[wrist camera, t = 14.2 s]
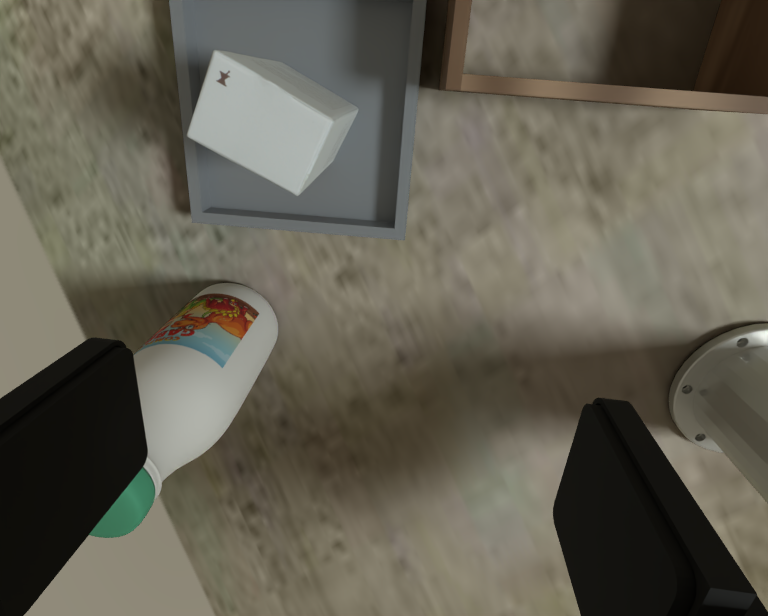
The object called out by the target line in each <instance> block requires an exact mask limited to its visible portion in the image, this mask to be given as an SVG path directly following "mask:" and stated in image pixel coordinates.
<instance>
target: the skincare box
mask: <svg viewBox="0 0 768 616" xmlns="http://www.w3.org/2000/svg"><path fill="white" fill-rule="evenodd" d="M357 112H358V108H357V107H356V106H354V105H353V104H351V103H349V102H348V101H346V100H344V99H343V98H341V97H339V96H338V95H336V94H334V93H333V92H331V91H329V90H328V89H326V88H324V87H323V86H321V85H319V84H318V83H316V82H314V81H313V80H311V79H309V78H307V77H306V76H304V75H302V74H301V73H299V72H297V71H296V70H294V69H292V68H291V67H289V66H287V65H286V64H284V63H282V62H278V61H273V60H268V59H262V58H257V57H251V56H247V55H242V54H236V53H232V52H227V51H220V50H214V51H213V53H212V56H211V59H210V63H209V66H208V69H207V72H206V76H205V79H204V82H203V85H202V88H201V92H200V95H199V98H198V101H197V104H196V107H195V110H194V114H193V117H192V120H191V123H190V126H189V129H188V132H187V136H188V138H190V139H192V140H194V141H196V142H197V143H199V144H201V145H203V146H205V147H207V148H208V149H210V150H212V151H214V152H216V153H217V154H219V155H221V156H223V157H225V158H227V159H228V160H230V161H232V162H234V163H236V164H238V165H240V166H242V167H244V168H246V169H248V170H250V171H252V172H253V173H255V174H257V175H259V176H261V177H263V178H265V179H267V180H268V181H270V182H272V183H274V184H276V185H278V186H280V187H282V188H283V189H285V190H287V191H289V192H291V193H292V194H294V195H296V196H298V195H300V194H301V193H302V192H303V191H304V190H305V189H306V188H307V187H308V186H309V185H310V184H311V183H312V182H313V181H314V180H315V179H316V178H317V177H318V176H319V175H320V174H321V173H322V172H323V171H324V170H325V169H326V168H327V167H328V166H329V165H330V164H331V163H332V162H333V160H334V158H335V156H336V154H337V152H338V150H339V148H340V146H341V144H342V142H343V140H344V139H345V137H346V135H347V133H348V131H349V129H350V127H351V125H352V123H353V121H354V119H355V117H356V115H357Z"/></svg>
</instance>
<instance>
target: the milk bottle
mask: <svg viewBox="0 0 768 616" xmlns="http://www.w3.org/2000/svg"><path fill="white" fill-rule="evenodd" d="M277 337H278V323H277V319H276V316H275V313H274V311H273V309H272V307H271V306H270V304H269V303H268V302H267V300H266V299H265V298H263V297H262V296H261V295H260V294H259V293H257V292H256V291H254V290H253V289H251V288H248V287H246V286H244V285H239V284H235V283H219V284H215V285H211V286H209V287H207V288H205V289H204V290H202V291H201V292H200V293H198V294H197V295H196V296H195V297H194V298H193V299H192V300H190V301H189V302H188V303H187V304H186V305H185V306H184V307H183V308H182V309H181V310H180V311H179V312H178V313H177V314H175V315H174V316H173V317H172V318H171V319H170V320H169V321H168V322H167V323H166V324H165V325H164V326H163V327H162V328H161V329H160V330H158V331H157V332H156V333H155V334H154V335H153V336H152V337H151V338H150V339H149V340H148V341H147V342H146V343H145V344H144V345H143V346H142V347H141V348H140V349H139V350H138V351H137V352H136V353H135V354H134V355H133V357H134V363H135V370H136V376H137V383H138V389H139V396H140V402H141V409H142V415H143V422H144V428H145V434H146V441H147V447H148V455H147V459H146V462H145V464H144V466H143V468H142V469H141V470H140V472H139V473H138V474H137V475H136V477H135V478H134V479H133V480H132V482H131V483H130V484H129V485H128V487H127V488H126V489H125V490H124V492H123V493H122V494H121V495H120V497H119V498H118V499H117V500H116V502H115V503H114V504H113V505H112V506H111V508H110V509H109V510H108V511H107V513H106V514H105V515H104V516H103V518H102V519H101V520H100V521H99V523H98V524H97V525H96V526H95V528H94V529H93V530H92V531H91V533H90V534H89V535H91V536H96V537H104V538H110V537H111V538H113V537H120V536H123V535H126V534H128V533H130V532H131V531H133V530H134V529H135V528H136V527H137V526H138V525H139V524H140V523H141V522H142V520H143V519H144V518H145V516H146V515H147V513H148V511H149V510H150V508H151V506H152V504H153V502H154V500H155V499H156V498H157V497H158V495H159V494H160V491H161V487H162V481H163V480H164V479H166V478H167V477H168V476H169V475H170V474H171V473H173V472H174V471H175V470H177V469H178V468H180V467H181V466H183V465H185V464H187V463H189V462H190V461H192V460H194V459H196V458H197V457H199V456H200V455H202V454H203V453H204V452H206V451H207V450H208V449H209V448H211V447H212V446H213V445H214V444H215V443H216V442H217V441H218V440H219V438H220V437H221V436H222V435H223V434H224V432H225V431H226V430H227V428H228V427H229V425H230V424H231V422H232V421H233V419H234V417H235V416H236V414H237V413H238V411H239V409H240V408H241V406H242V404H243V402H244V400H245V399H246V397H247V395H248V393H249V392H250V390H251V388H252V386H253V385H254V383H255V381H256V379H257V377H258V375H259V374H260V372H261V370H262V368H263V366H264V364H265V363H266V361H267V359H268V357H269V355H270V353H271V351H272V349H273V347H274V345H275V343H276V340H277Z"/></svg>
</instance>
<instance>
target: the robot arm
mask: <svg viewBox="0 0 768 616" xmlns="http://www.w3.org/2000/svg"><path fill="white" fill-rule="evenodd" d="M669 410H670V413H671V417H672V419H673V421H674V422H675V424H676V426H677V427H678V428H679V430H680V431H681V432H682V433H683V434H684V435H685V437H686V438H687V439H689V440H690V441H691V442H692V443H694V444H696V445H698V446H700V447H702V448H704V449H707V450H711V451H715V452H721V453H724V454H725V455H726V456H727V457H728V458H729V459H730V461H731V462H732V463H733V464H734V465H735V466H736V467H737V469H738V470H739V471H740V472H741V473H742V474H743V476H744V477H745V478H746V479H747V480H748V481H749V482H750V484H751V485H752V486H753V487H754V488H755V489H756V491H757V492H758V493H759V494H760V495H761V496H762V498H763V499H764V500H765V501H766V502H767V503H768V323H765V324H753V325H749V326H744V327H740V328H737V329H734V330H731V331H729V332H726V333H724V334H721V335H719V336H718V337H716V338H714V339H712V340H710V341H709V342H707V343H706V344H704V345H703V346H702V347H700V348H699V349H698V350H696V351H695V352H694V353H693V354H692V355H691V356H690V357H689V358H688V359H687V360H686V361H685V362H684V364H683V365H682V367H681V368H680V369H679V371H678V372H677V374H676V376H675V378H674V380H673V383H672V385H671V388H670V393H669ZM147 455H148V447H147V441H146V434H145V428H144V422H143V415H142V409H141V402H140V396H139V389H138V383H137V376H136V370H135V363H134V357H133V353H132V351H131V350H130V349H128V348H126V346H125V344H124V343H123V342H122V341H119V340H110V339H102V338H90V339H88V340H86V341H85V342H83V343H82V344H80V345H79V346H77V347H76V348H74V349H73V350H71V351H70V352H68V353H67V354H65V355H64V356H63V357H61V358H60V359H58V360H57V361H55V362H54V363H52V364H51V365H49V366H48V367H46V368H45V369H44V370H42V371H40V372H39V373H37V374H36V375H35V376H33V377H32V378H30V379H29V380H27V381H26V382H24V383H23V384H21V385H20V386H18V387H17V388H15V389H14V390H12V391H11V392H9V393H8V394H6V395H5V396H4V397H2V398H1V399H0V616H23V615H24V614H25V613H26V612H27V611H28V610H29V609H30V608H31V606H32V605H33V604H34V602H35V601H36V600H37V599H38V598H39V596H40V595H41V594H42V592H43V591H44V590H45V589H46V588H47V586H48V585H49V584H50V583H51V581H52V580H53V579H54V577H55V576H56V575H57V574H58V573H59V571H60V570H61V569H62V568H63V566H64V565H65V564H66V562H67V561H68V560H69V559H70V558H71V556H72V555H73V554H74V553H75V551H76V550H77V549H78V548H79V546H80V545H81V544H82V543H83V541H84V540H85V539H86V537H87V536H88V535H89V534H90V533H91V531H92V530H93V529H94V528H95V526H96V525H97V524H98V523H99V521H100V520H101V519H102V518H103V516H104V515H105V514H106V513H107V511H108V510H109V509H110V508H111V506H112V505H113V504H114V503H115V502H116V500H117V499H118V498H119V497H120V495H121V494H122V493H123V492H124V490H125V489H126V488H127V487H128V485H129V484H130V483H131V482H132V480H133V479H134V478H135V477H136V475H137V474H138V473H139V472H140V470H141V469H142V468H143V466H144V464H145V462H146V459H147ZM553 519H554V524H555V528H556V531H557V535H558V538H559V541H560V545H561V548H562V552H563V555H564V559H565V562H566V566H567V569H568V573H569V576H570V579H571V583H572V586H573V590H574V593H575V597H576V600H577V604H578V607H579V610H580V614H581V616H768V612H767V610H766V609H765V607H764V606H763V604H762V603H761V601H760V599H759V598H758V596H757V593H756V592H755V590H754V589H753V587H752V586H751V584H750V583H749V581H748V580H747V578H746V577H745V575H744V574H743V572H742V571H741V569H740V568H739V566H738V565H737V563H736V562H735V560H734V559H733V557H732V556H731V554H730V553H729V551H728V550H727V548H726V547H725V545H724V543H723V542H722V540H721V539H720V537H719V536H718V534H717V533H716V531H715V530H714V528H713V527H712V525H711V524H710V522H709V521H708V519H707V518H706V516H705V515H704V513H703V512H702V510H701V509H700V507H699V506H698V504H697V503H696V501H695V500H694V498H693V497H692V495H691V494H690V492H689V491H688V489H687V488H686V486H685V485H684V483H683V482H682V480H681V479H680V477H679V476H678V474H677V473H676V471H675V470H674V468H673V467H672V465H671V464H670V462H669V461H668V459H667V457H666V456H665V454H664V453H663V451H662V450H661V448H660V447H659V445H658V444H657V442H656V441H655V439H654V438H653V436H652V435H651V433H650V432H649V430H648V429H647V427H646V426H645V424H644V423H643V421H642V420H641V418H640V417H639V415H638V414H637V412H636V411H635V409H634V408H633V406H632V405H631V404H630V403H629V402H627V401H621V400H613V399H604V398H597V399H595V400H594V402H593V404H586V405H585V406H584V407H583V410H582V413H581V416H580V419H579V423H578V426H577V429H576V433H575V436H574V439H573V443H572V446H571V449H570V452H569V456H568V459H567V462H566V466H565V469H564V472H563V476H562V479H561V482H560V486H559V489H558V492H557V496H556V499H555V502H554V507H553Z"/></svg>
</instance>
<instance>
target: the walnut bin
mask: <svg viewBox="0 0 768 616" xmlns="http://www.w3.org/2000/svg"><path fill="white" fill-rule="evenodd" d="M471 4H472V0H448V8H447V18H446V27H445V36H444V45H443V55H442V64H441V73H440V83H439V90H445V91H458V92H471V93H484V94H497V95H510V96H523V97H536V98H549V99H562V100H575V101H588V102H601V103H614V104H627V105H640V106H653V107H667V108H680V109H693V110H707V111H724V112H741V113H757V114H768V0H721V3H720V7H719V10H718V13H717V16H716V19H715V22H714V26H713V29H712V32H711V35H710V38H709V42H708V45H707V48H706V51H705V54H704V57H703V61H702V64H701V67H700V70H699V73H698V77H697V80H696V83H695V86H694V89H693V91H682V90H669V89H656V88H643V87H629V86H616V85H603V84H590V83H577V82H564V81H550V80H537V79H524V78H511V77H498V76H484V75H471V74H463V67H464V59H465V51H466V43H467V35H468V28H469V20H470V12H471Z"/></svg>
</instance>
